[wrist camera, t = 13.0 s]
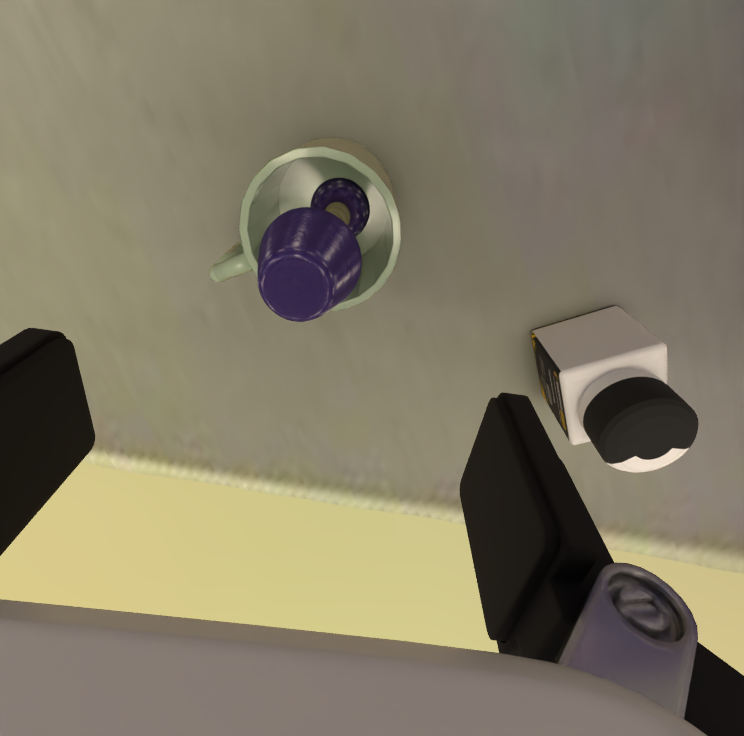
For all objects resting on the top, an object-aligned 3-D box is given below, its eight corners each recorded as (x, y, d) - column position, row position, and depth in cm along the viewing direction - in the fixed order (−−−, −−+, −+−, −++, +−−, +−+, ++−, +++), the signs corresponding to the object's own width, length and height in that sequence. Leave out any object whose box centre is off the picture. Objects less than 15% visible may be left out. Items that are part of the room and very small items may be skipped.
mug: (367, 115, 28) (364, 116, 20) (411, 239, 32) (422, 280, 24) (211, 187, 31) (154, 214, 23) (270, 295, 35) (238, 348, 27)
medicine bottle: (529, 329, 36) (589, 416, 26) (617, 303, 35) (718, 383, 25) (541, 395, 40) (599, 496, 29) (623, 373, 38) (713, 470, 28)
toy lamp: (309, 243, 32) (254, 349, 18) (296, 175, 30) (221, 235, 15) (373, 236, 32) (370, 338, 17) (365, 167, 29) (354, 219, 15)
